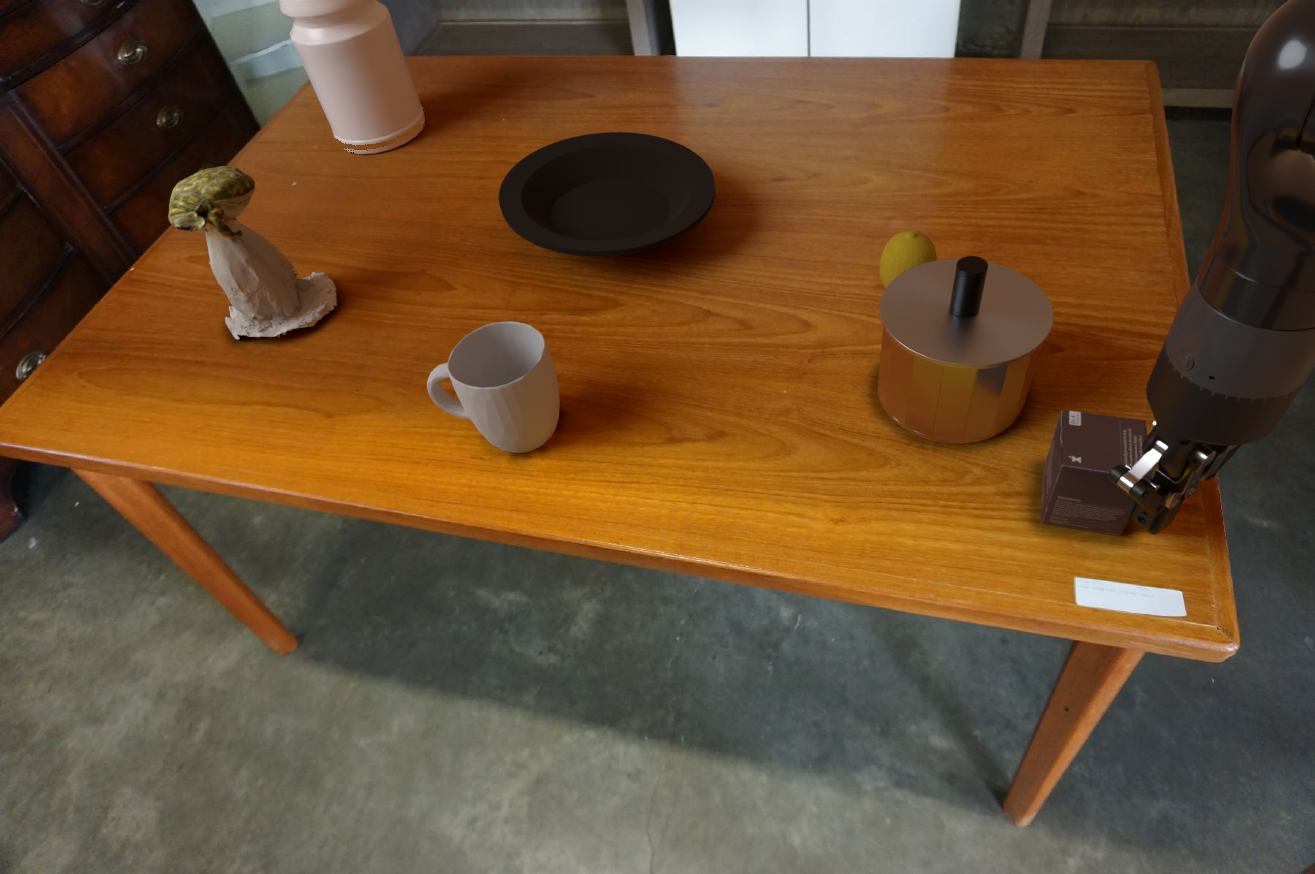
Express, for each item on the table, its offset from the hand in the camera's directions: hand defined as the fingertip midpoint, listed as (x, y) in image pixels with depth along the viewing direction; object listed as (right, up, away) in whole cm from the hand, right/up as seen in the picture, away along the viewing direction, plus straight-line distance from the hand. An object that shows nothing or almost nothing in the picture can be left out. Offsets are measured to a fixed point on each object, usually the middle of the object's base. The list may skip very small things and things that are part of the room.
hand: (1149, 522), depth 63 cm
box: (-3, +1, +5) cm, 6 cm away
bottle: (-79, +53, +65) cm, 115 cm away
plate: (-42, +32, +40) cm, 67 cm away
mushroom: (-81, +21, +37) cm, 92 cm away
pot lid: (-11, +17, +8) cm, 22 cm away
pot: (-10, +11, +15) cm, 21 cm away
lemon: (-11, +21, +25) cm, 34 cm away
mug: (-52, +7, +19) cm, 56 cm away
